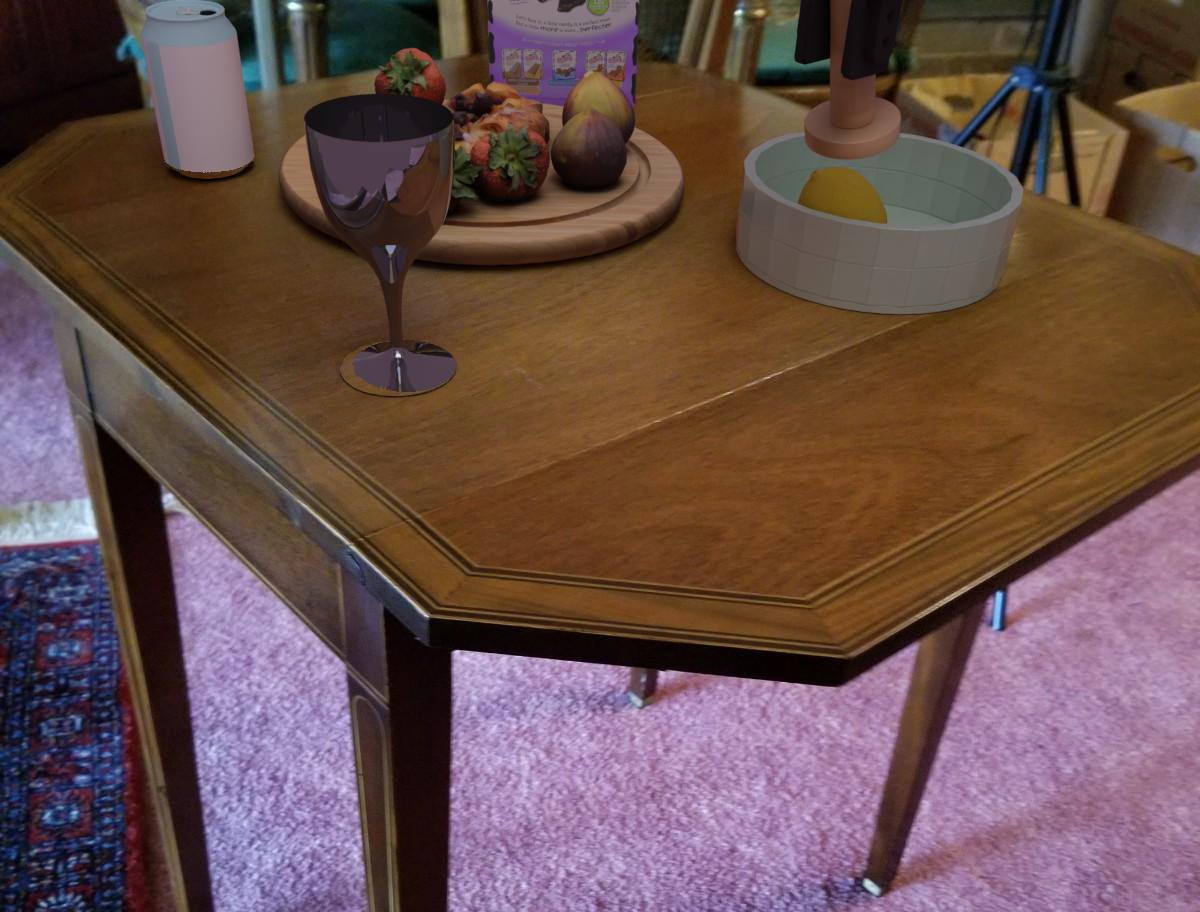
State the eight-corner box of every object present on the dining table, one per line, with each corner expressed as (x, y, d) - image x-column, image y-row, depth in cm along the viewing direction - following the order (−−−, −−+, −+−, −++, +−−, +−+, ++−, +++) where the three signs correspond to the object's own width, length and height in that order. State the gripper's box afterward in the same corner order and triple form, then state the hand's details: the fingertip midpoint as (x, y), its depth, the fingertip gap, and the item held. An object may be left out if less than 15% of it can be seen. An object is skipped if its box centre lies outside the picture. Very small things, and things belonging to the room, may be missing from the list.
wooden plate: (260, 137, 104) (246, 35, 99) (609, 113, 113) (613, 17, 107) (311, 295, 81) (296, 173, 76) (746, 250, 89) (759, 137, 84)
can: (217, 146, 102) (192, -9, 95) (273, 166, 99) (252, 8, 91) (148, 168, 98) (115, 7, 90) (204, 190, 95) (175, 26, 87)
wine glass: (444, 329, 78) (432, 88, 69) (479, 388, 72) (472, 134, 63) (321, 346, 76) (291, 99, 66) (347, 409, 70) (319, 148, 60)
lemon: (822, 295, 86) (765, 208, 82) (853, 242, 88) (799, 154, 84) (887, 283, 82) (831, 190, 78) (918, 227, 84) (864, 134, 80)
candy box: (632, 92, 118) (642, -100, 107) (635, 111, 113) (645, -87, 103) (491, 87, 117) (487, -106, 107) (487, 106, 113) (483, -93, 102)
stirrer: (915, 119, 67) (926, -72, 60) (875, 167, 65) (880, -27, 57) (830, 106, 69) (830, -80, 62) (788, 150, 67) (782, -38, 59)
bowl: (1054, 265, 89) (1077, 185, 86) (891, 342, 79) (909, 254, 75) (848, 186, 100) (860, 112, 97) (681, 244, 90) (687, 163, 86)
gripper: (1126, -373, 49) (1011, 94, 61) (823, -388, 58) (774, 22, 70) (1023, -379, 45) (921, 122, 57) (715, -393, 54) (682, 42, 66)
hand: (840, 63), depth 63 cm, fingers closed on stirrer, 2 cm apart
